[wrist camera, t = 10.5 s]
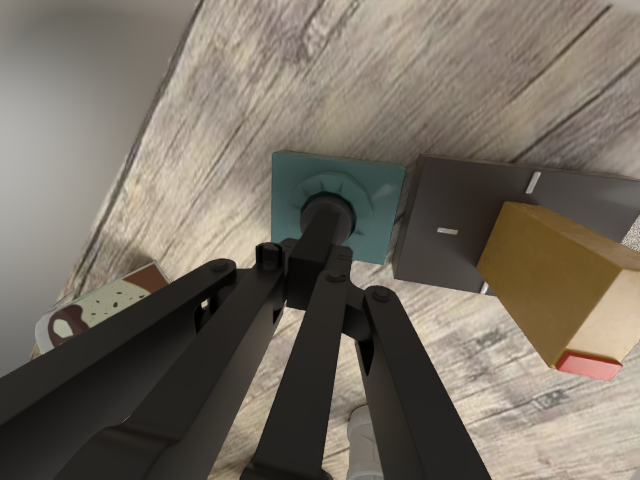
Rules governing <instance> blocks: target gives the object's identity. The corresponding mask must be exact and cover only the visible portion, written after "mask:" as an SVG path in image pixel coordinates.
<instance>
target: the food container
mask: <svg viewBox="0 0 640 480" xmlns="http://www.w3.org/2000/svg"><path fill="white" fill-rule="evenodd" d="M168 284H170V281H169V280H168V278H167V277H166V275H165V274H164V272H163V271H162V270H161V268H160V267H159V265H158V264H157V262H156V261H153V262H151V263H149V264H147V265H145V266H143V267H141V268H139V269H137V270H135V271H133V272H131V273H128V274H126V275H124V276H122V277H120V278H118V279H116V280H114V281H112V282H110V283H108V284H106V285H104V286H102V287H100V288H98V289H96V290H94V291H91V292H89V293H87V294H85V295H83V296H81V297H79V298H77V299H75V300H73V301H71V302H69V303H67V304H65V305H63V306H60V305H61V304H62V303H63V302H64V301H65V300H67V299H68V298H69V297H70V296H71V295H72V294H74V293H73V292H71V293H69V294H67V295H65V296H64V297H63V298H62V299H61V300H59V301H58V302H57V303H56V304H55V305H53V306H52V307H51V308H50V309H49V310H47V311H46V312H45V314H44V316H43V317H42V318H41V319H40V320H39V321H38V323H37V325H36V328H35V337H36V341H37V344H38V347H39V349H40V351H41V353H42V354H44V353H46V352H48V351H50V350H52V349H53V348H55V347H57V346H59V345H61V344H62V343H64V342H66V341H68V340H69V339H71V338H73V337H75V336H77V335H78V334H80V333H82V332H84V331H86V330H87V329H89V328H91V327H93V326H95V325H96V324H98V323H100V322H102V321H103V320H105V319H107V318H109V317H111V316H112V315H114V314H116V313H118V312H120V311H121V310H123V309H125V308H127V307H129V306H130V305H132V304H134V303H136V302H137V301H139V300H141V299H143V298H145V297H146V296H148V295H150V294H152V293H154V292H155V291H157V290H159V289H161V288H163V287H164V286H166V285H168Z"/></svg>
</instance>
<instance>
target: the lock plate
mask: <svg viewBox="0 0 640 480" xmlns="http://www.w3.org/2000/svg"><path fill="white" fill-rule="evenodd" d="M505 201H510V202H517V203H525V204H532V205H539V206H543V207H545V208H547V209H549V210H551V211H554V212H556V213H558V214H560V215H562V216H564V217H566V218H568V219H570V220H572V221H574V222H577V223H579V224H581V225H583V226H585V227H587V228H589V229H591V230H593V231H595V232H597V233H600V234H602V235H604V236H606V237H608V238H610V239H612V240H614V241H616V242H618V243H621V241H622V240H623V238H624V237H625V235H626V234H627V232H628V231H629V229H630V228H631V227H632V225H633V224H634V222H635V221H636V219H637V218H638V216H639V215H640V179H638V178H633V177H628V176H622V175H613V174H604V173H595V172H586V171H577V170H569V169H560V168H551V167H542V166H533V165H524V164H515V163H506V162H497V161H488V160H480V159H471V158H462V157H453V156H444V155H435V154H426V153H419V156H418V160H417V164H416V168H415V172H414V176H413V180H412V185H411V189H410V193H409V197H408V201H407V205H406V209H405V213H404V217H403V221H402V225H401V229H400V233H399V237H398V241H397V245H396V249H395V253H394V257H393V261H392V270H393V276H394V279H398V280H404V281H409V282H415V283H421V284H427V285H433V286H439V287H444V288H450V289H456V290H462V291H468V292H474V293H479V294H485V295H491V296H496V295H495V294H494V292H493V291H492V290H491V288H490V287H489V286H488V284H487V283H486V281H485V280H484V279H483V277H482V276H481V275H480V273H479V272H478V271H477V269H476V267H477V264H478V262H479V260H480V257H481V255H482V253H483V251H484V248H485V246H486V244H487V241H488V239H489V237H490V234H491V232H492V230H493V227H494V225H495V223H496V220H497V218H498V216H499V213H500V211H501V209H502V206H503V204H504V202H505Z"/></svg>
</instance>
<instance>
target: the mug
mask: <svg viewBox="0 0 640 480" xmlns="http://www.w3.org/2000/svg"><path fill="white" fill-rule="evenodd" d="M347 438H348V440H349V442H350V452H349V469H348V472H347V478H346V480H384V477H383V472H382V467H381V463H380V458H379V454H378V449H377V444H376V440H375V435H374V431H373V426H372V421H371V417H370V412H369V408H368V405H366V406H362V407H359V408H357V409H355V410H354V411H353V413H352V414H351V418H350V422H349V424H348V428H347Z"/></svg>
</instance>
